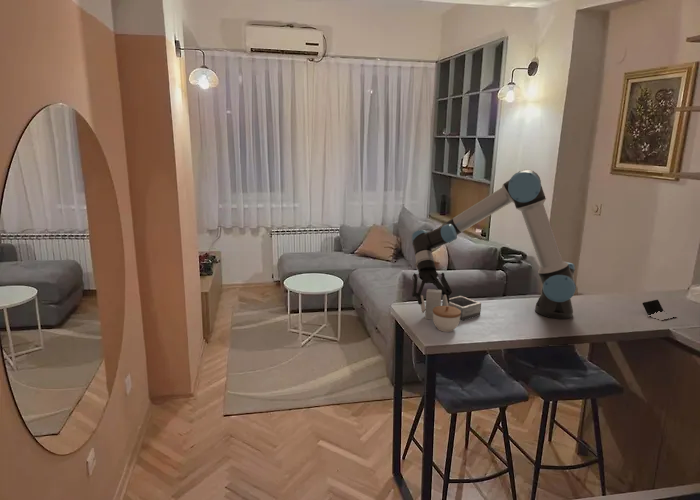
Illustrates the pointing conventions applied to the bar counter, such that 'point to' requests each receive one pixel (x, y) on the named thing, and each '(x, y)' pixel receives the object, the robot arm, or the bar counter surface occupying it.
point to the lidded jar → (446, 318)
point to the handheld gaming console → (652, 307)
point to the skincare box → (432, 302)
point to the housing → (465, 306)
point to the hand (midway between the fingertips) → (435, 310)
